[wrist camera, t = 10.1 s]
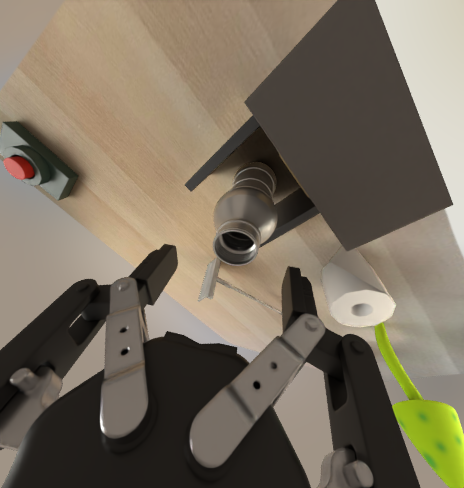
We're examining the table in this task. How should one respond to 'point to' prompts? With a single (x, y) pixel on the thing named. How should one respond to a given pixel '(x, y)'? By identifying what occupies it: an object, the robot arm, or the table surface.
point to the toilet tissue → (355, 290)
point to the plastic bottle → (245, 215)
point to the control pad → (37, 160)
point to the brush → (211, 280)
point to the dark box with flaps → (344, 131)
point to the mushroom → (427, 422)
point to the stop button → (19, 167)
